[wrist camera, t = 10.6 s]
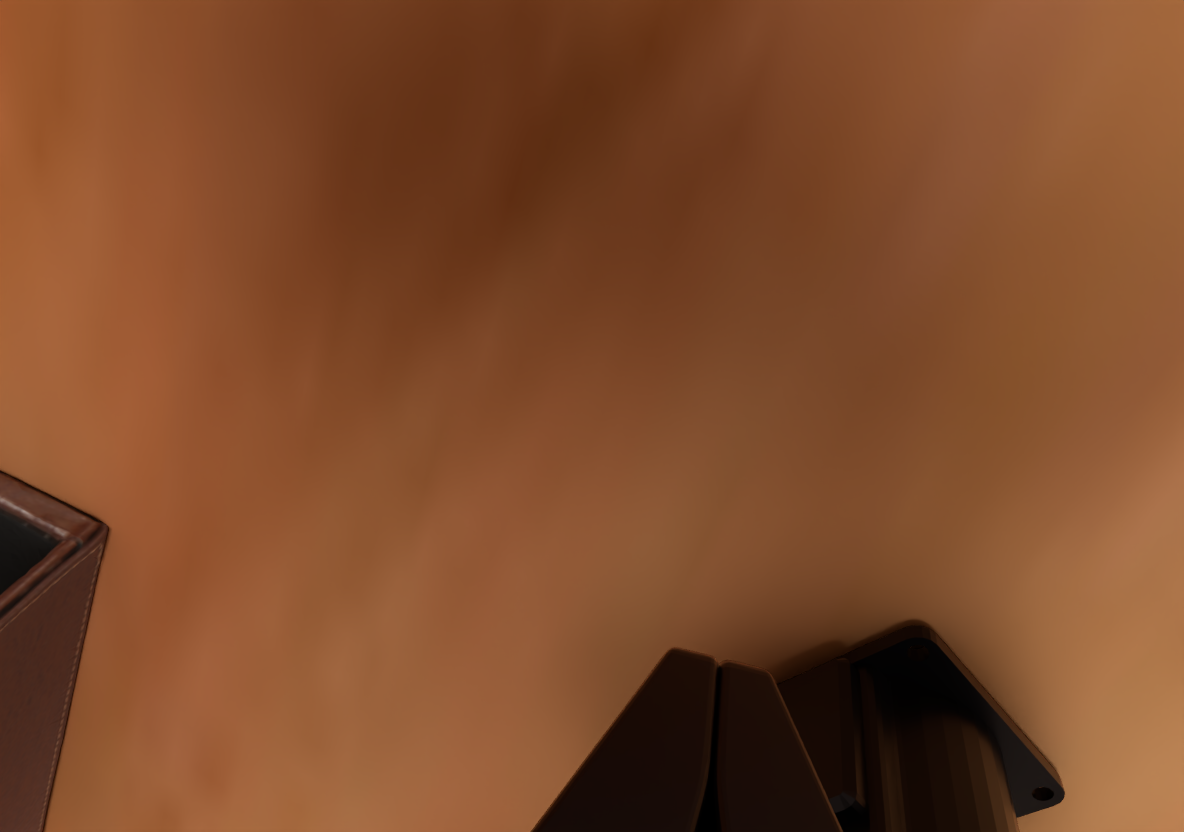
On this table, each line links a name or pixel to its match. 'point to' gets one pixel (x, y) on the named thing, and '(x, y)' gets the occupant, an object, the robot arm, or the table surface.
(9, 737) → the letter holder
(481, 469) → the table surface
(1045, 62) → the table surface
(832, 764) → the robot arm
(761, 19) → the table surface
